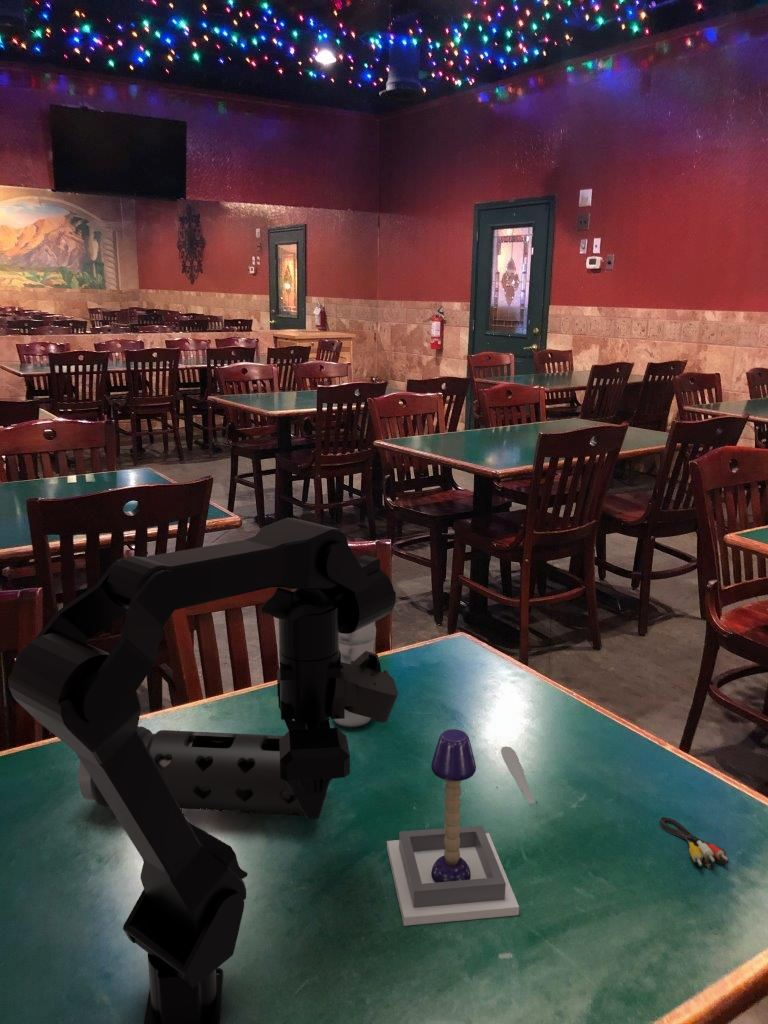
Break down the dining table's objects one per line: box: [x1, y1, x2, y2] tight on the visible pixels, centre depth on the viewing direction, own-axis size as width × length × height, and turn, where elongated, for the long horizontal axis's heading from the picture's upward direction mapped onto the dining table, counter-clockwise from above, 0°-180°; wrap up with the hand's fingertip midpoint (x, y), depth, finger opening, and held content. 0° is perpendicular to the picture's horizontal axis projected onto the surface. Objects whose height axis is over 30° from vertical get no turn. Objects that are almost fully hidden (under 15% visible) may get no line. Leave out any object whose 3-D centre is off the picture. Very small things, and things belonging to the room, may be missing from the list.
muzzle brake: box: [78, 725, 306, 817], centre depth 100 cm, size 10×28×10 cm, turn 86°
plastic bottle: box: [332, 622, 377, 728], centre depth 120 cm, size 6×7×20 cm
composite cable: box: [658, 816, 729, 870], centre depth 96 cm, size 10×5×2 cm, turn 11°
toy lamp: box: [430, 728, 477, 883], centre depth 87 cm, size 5×5×17 cm
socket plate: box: [386, 825, 520, 927], centre depth 90 cm, size 12×12×3 cm
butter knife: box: [500, 746, 534, 803], centre depth 103 cm, size 1×27×3 cm
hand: (310, 790), depth 84 cm, fingers open, 9 cm apart
